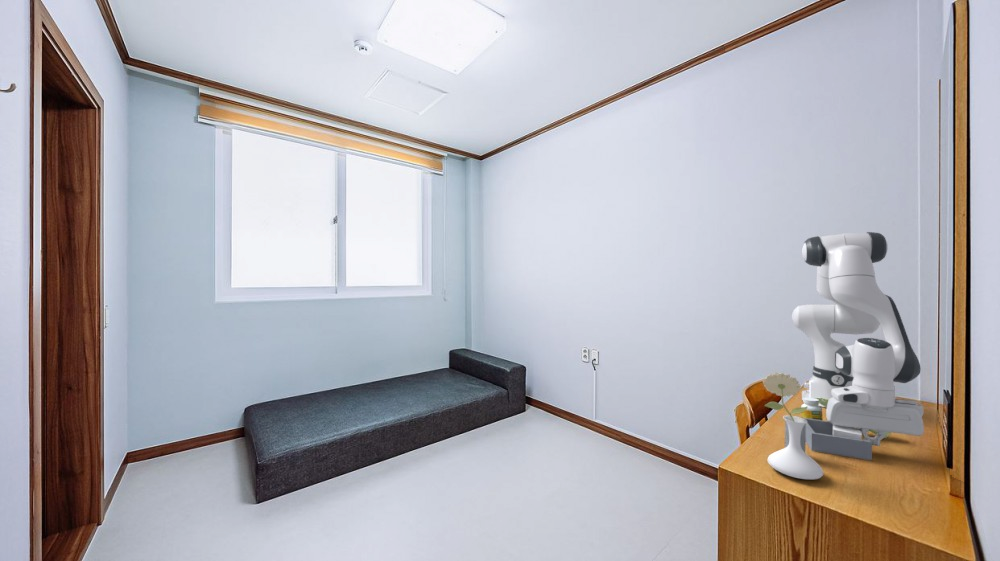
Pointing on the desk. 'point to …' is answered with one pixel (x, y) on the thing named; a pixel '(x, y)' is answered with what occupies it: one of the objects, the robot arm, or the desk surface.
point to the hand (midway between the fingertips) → (872, 444)
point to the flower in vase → (791, 432)
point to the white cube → (847, 432)
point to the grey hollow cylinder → (802, 438)
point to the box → (835, 441)
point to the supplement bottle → (812, 409)
